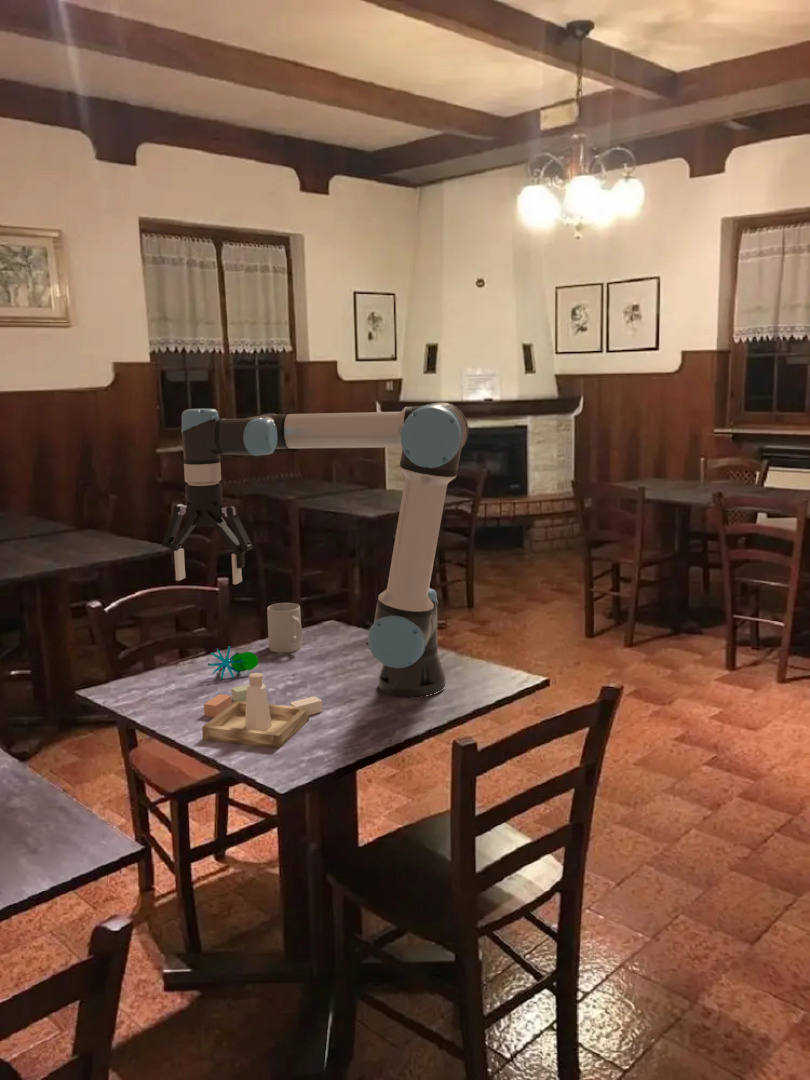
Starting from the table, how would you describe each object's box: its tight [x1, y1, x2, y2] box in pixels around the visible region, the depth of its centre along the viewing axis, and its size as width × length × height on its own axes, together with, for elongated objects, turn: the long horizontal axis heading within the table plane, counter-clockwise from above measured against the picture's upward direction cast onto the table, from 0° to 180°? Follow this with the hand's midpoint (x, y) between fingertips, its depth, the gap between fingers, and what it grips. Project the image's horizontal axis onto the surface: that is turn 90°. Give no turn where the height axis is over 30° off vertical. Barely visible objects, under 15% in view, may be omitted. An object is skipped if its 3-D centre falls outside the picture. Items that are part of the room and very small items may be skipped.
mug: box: [266, 602, 303, 654], centre depth 232 cm, size 12×8×11 cm
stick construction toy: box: [207, 645, 259, 681], centre depth 215 cm, size 12×7×8 cm
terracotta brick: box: [203, 694, 233, 718], centre depth 192 cm, size 6×3×3 cm, turn 159°
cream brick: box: [289, 695, 323, 716], centre depth 190 cm, size 6×3×3 cm, turn 126°
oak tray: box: [201, 701, 310, 750], centre depth 182 cm, size 16×14×3 cm
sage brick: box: [230, 683, 250, 702], centre depth 199 cm, size 6×3×3 cm, turn 124°
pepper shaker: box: [245, 672, 272, 731], centre depth 181 cm, size 5×5×11 cm
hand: (208, 581), depth 194 cm, fingers open, 13 cm apart
